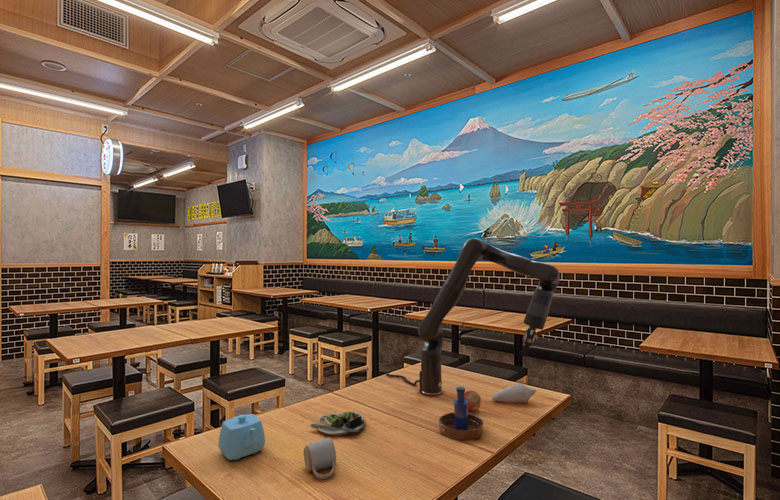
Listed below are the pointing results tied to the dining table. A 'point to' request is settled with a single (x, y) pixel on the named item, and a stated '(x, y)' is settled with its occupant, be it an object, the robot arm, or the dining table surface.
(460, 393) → the soy bottle
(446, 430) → the bowl
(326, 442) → the ceramic mug
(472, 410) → the fruit
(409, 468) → the dining table surface
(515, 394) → the seashell
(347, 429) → the salad plate
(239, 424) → the teapot
